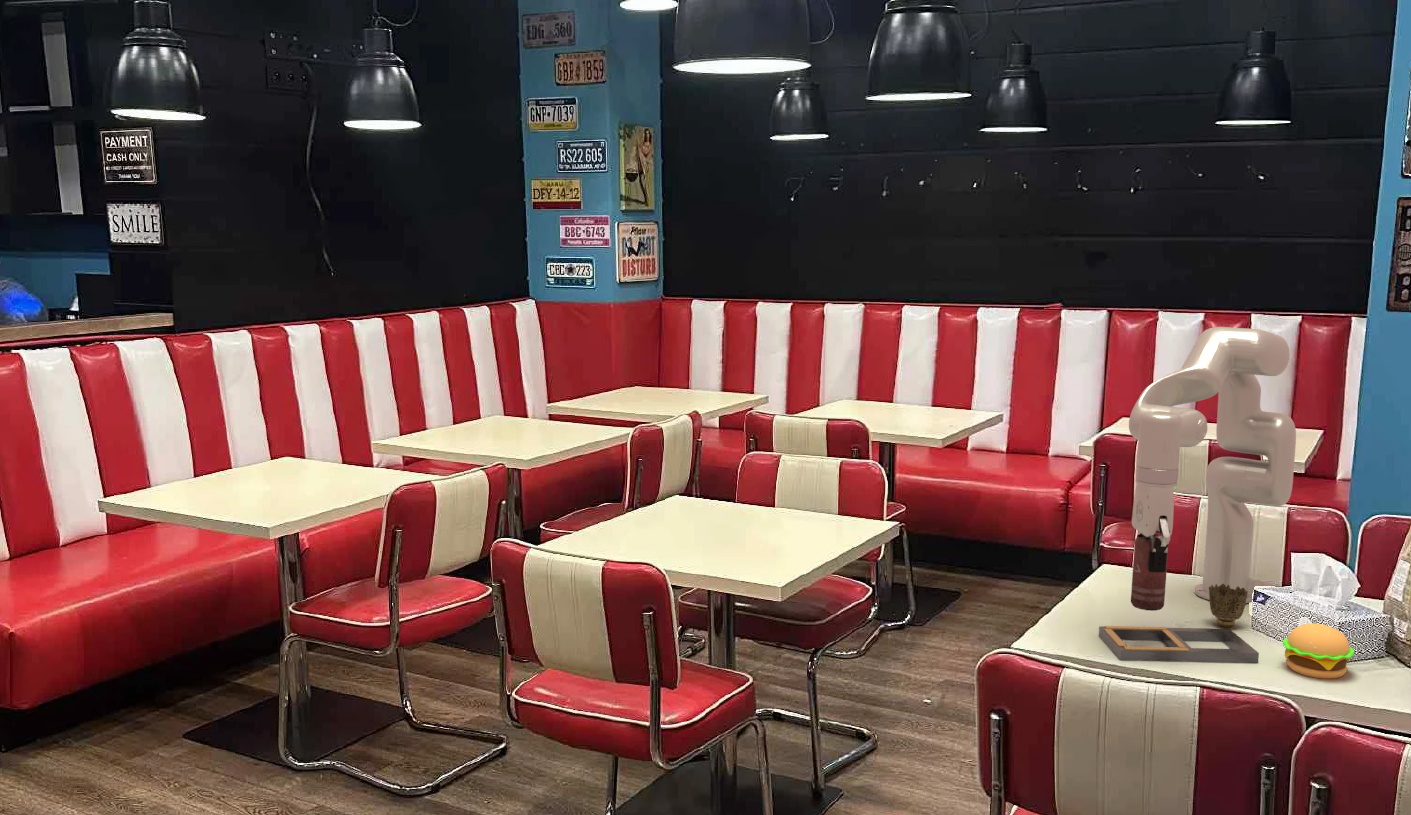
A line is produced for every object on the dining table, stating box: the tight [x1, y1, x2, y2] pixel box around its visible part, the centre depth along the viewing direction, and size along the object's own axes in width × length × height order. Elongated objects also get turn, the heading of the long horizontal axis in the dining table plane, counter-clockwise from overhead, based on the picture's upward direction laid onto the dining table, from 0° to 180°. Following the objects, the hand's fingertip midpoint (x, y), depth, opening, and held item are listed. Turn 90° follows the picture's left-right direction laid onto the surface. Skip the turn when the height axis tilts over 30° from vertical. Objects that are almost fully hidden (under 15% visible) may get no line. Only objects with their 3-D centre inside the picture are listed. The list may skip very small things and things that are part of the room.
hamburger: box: [1282, 622, 1355, 680], centre depth 228 cm, size 12×12×9 cm
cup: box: [1208, 584, 1248, 629], centre depth 253 cm, size 8×7×8 cm
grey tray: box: [1098, 625, 1260, 664], centre depth 239 cm, size 26×14×2 cm, turn 88°
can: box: [1130, 533, 1170, 612], centre depth 236 cm, size 6×6×14 cm
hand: (1150, 566), depth 236 cm, fingers closed on can, 6 cm apart
